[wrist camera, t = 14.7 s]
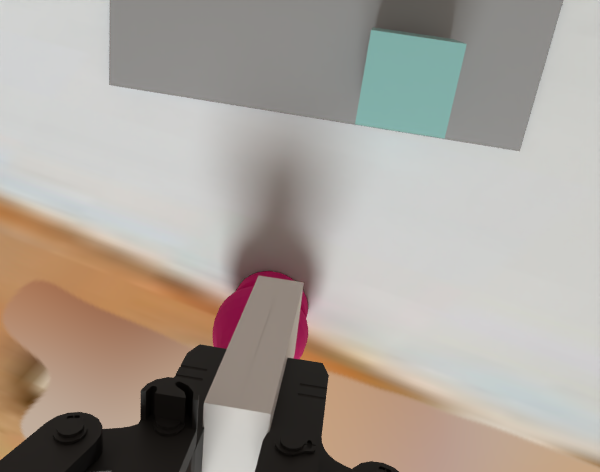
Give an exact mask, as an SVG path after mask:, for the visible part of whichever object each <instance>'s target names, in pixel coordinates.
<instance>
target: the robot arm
mask: <svg viewBox="0 0 600 472" xmlns="http://www.w3.org/2000/svg"><path fill="white" fill-rule="evenodd" d="M303 285H304V282H298V281H291V280H284V279H278V278H271V277H265V276H258V278H257V280H256V283H255V285H254V287H253V290H252V292H251V294H250V297H249V299H248V301H247V304H246V306H245V308H244V311H243V313H242V315H241V318H240V320H239V322H238V324H237V327H236V329H235V331H234V334H233V336H232V338H231V341H230V343H229V345H228V348H227V349H224V348H218V347H212V346H206V345H198V346H197V347H195V348H194V349H193V350H191V351H190V352H188V353H187V355H186V356H185V358H184V360H183V362H182V364H181V367H179V369H178V371H177V373H176V376H175V377H174V378H169V377H167V378H162V379H157V380H155V381H152V382H150V383H148V384H147V385H146V386H145V387H144V388H143V389H142V390H141V420H140V422H139V424H137V425H134V426H130V427H124V428H113V429H102V425H101V423H100V421H99V419H98V418H96V417H94V416H93V415H91V414H87V413H82V412H75V413H66V414H63V415H60V416H57V417H55V418H53V419H52V420H50V421H48V422H47V423H45V424H44V425H43V426H42V427H40V428H39V429H38V430H37V431H36V432H34V433H33V434H32V435H31V436H29V437H28V438H27V439H26V440H25V441H23V442H22V443H21V444H20V445H18V446H17V447H16V448H15V449H14V450H12V451H11V452H10V453H9V454H8V455H6V456H5V457H4V458H3V459H1V460H0V472H399V471H397V470H396V469H395V468H393V467H391V466H389V465H386V464H384V463H379V462H372V461H371V462H366V463H361V464H359V465H357V466H356V467H354V468H353V469H351V468H348V467H346V466H344V465H342V464H340V463H339V462H337V461H335V460H334V459H333V458H331V457H330V456H329V455H328V453H327V452H326V451H325V449H324V447H323V444H322V438H321V436H322V427H323V418H324V410H325V401H326V393H327V383H328V376H329V375H328V373H327V371H326V369H325V367H324V365H323V363H318V362H312V361H306V360H300V359H294V354H295V347H296V340H297V332H298V324H299V316H300V308H301V300H302V292H303Z"/></svg>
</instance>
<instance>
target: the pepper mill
mask: <svg viewBox="0 0 600 472" xmlns="http://www.w3.org/2000/svg"><path fill="white" fill-rule="evenodd" d="M258 276H265V277H271V278H278V279H284V280H291V281H294V280H293V279H292V278H290V277H288V276H286V275H284V274H282V273H278V272H273V271H263V272H258V273H255V274H252V275H250V276H249V277H247V278H246V279H244V280H243V281H242V283H241V284H240V285H239V287H238V288H237V290H236V292H234V293H233V294H232V295H230V296H229V297H228V298H227V299H226V300H225V301H224V302H223V304H222V305H221V307H220V308H219V311H218V313H217V316H216V318H215V321H214V326H213V345H214V347H218V348H224V349H227V348H228V345H229V343H230V341H231V338H232V336H233V334H234V331H235V329H236V327H237V324H238V322H239V320H240V318H241V315H242V313H243V311H244V308H245V306H246V304H247V301H248V299H249V297H250V294H251V292H252V290H253V287H254V285H255V283H256V280H257V278H258ZM307 313H308V302H307V298H306V296H305V293H304V291H303V292H302V300H301V308H300V316H299V324H298V332H297V340H296V347H295V354H294V359H300V357H301V356H302V354H303V351H304V348H305V346H306V343H307V338H308V326H307V320H306V317H307Z"/></svg>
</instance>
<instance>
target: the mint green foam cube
mask: <svg viewBox="0 0 600 472" xmlns="http://www.w3.org/2000/svg"><path fill="white" fill-rule="evenodd" d="M466 45H467V44H465V43H463V42H460V41H457V40H454V39H449V38H443V37H436V36H429V35H422V34H415V33H409V32H402V31H395V30H388V29H381V28H375V27H373V28H372V29H371V34H370V40H369V45H368V51H367V57H366V63H365V69H364V75H363V80H362V86H361V92H360V98H359V104H358V110H357V115H356V121H355V124H357V125H363V126H369V127H375V128H381V129H388V130H394V131H400V132H406V133H413V134H419V135H425V136H431V137H437V138H444V139H445V135H446V131H447V126H448V122H449V118H450V113H451V109H452V105H453V101H454V96H455V92H456V88H457V84H458V79H459V75H460V71H461V67H462V62H463V58H464V54H465V50H466Z"/></svg>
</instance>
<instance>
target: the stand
mask: <svg viewBox="0 0 600 472" xmlns="http://www.w3.org/2000/svg"><path fill="white" fill-rule="evenodd" d="M562 3H563V0H110V54H109V85H113V86H119V87H125V88H131V89H137V90H144V91H150V92H156V93H162V94H168V95H175V96H181V97H187V98H193V99H199V100H206V101H212V102H218V103H224V104H230V105H237V106H243V107H249V108H255V109H261V110H268V111H274V112H280V113H286V114H292V115H299V116H305V117H311V118H317V119H323V120H330V121H336V122H342V123H348V124H354V125H357V124H355V121H356V115H357V110H358V104H359V98H360V92H361V86H362V80H363V75H364V69H365V63H366V57H367V51H368V45H369V40H370V34H371V29H372V28H373V27H375V28H381V29H388V30H395V31H402V32H409V33H415V34H422V35H429V36H436V37H443V38H449V39H454V40H457V41H460V42H463V43H465V44H467V45H466V50H465V54H464V58H463V62H462V67H461V71H460V75H459V79H458V84H457V88H456V92H455V96H454V101H453V105H452V109H451V113H450V118H449V122H448V126H447V131H446V135H445V139H447V140H454V141H460V142H466V143H472V144H478V145H484V146H491V147H497V148H503V149H509V150H515V151H520V148H521V145H522V141H523V138H524V134H525V131H526V127H527V124H528V121H529V117H530V114H531V110H532V107H533V103H534V100H535V96H536V93H537V89H538V86H539V82H540V79H541V75H542V72H543V69H544V65H545V62H546V58H547V55H548V51H549V48H550V44H551V41H552V37H553V34H554V30H555V27H556V24H557V20H558V17H559V13H560V10H561V6H562ZM361 126H363V125H361ZM367 127H369V126H367ZM373 128H375V127H373ZM379 129H381V128H379ZM385 130H388V129H385ZM392 131H394V130H392ZM398 132H400V131H398ZM404 133H406V132H404ZM410 134H413V133H410ZM416 135H419V134H416ZM423 136H425V135H423ZM429 137H431V136H429ZM435 138H437V137H435ZM441 139H444V138H441Z"/></svg>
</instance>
